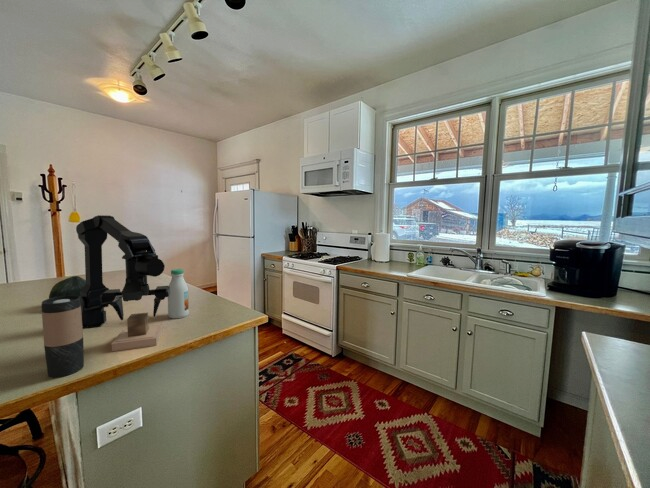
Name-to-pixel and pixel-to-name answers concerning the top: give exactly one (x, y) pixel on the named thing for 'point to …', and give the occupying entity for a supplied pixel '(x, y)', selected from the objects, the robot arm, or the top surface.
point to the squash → (68, 287)
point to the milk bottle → (178, 295)
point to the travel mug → (63, 335)
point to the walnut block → (138, 324)
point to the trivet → (137, 339)
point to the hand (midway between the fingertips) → (138, 318)
